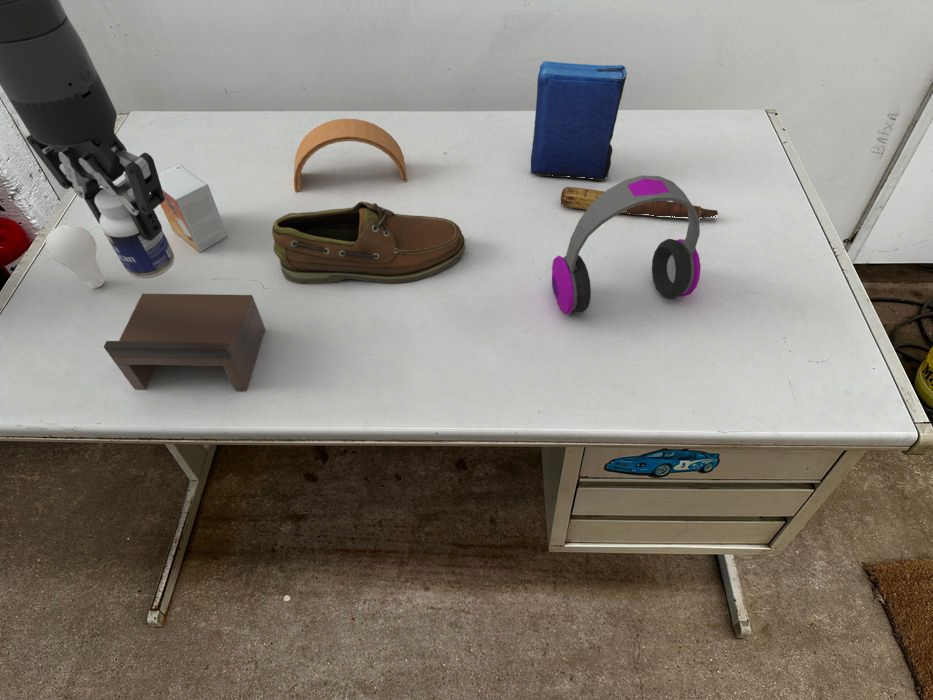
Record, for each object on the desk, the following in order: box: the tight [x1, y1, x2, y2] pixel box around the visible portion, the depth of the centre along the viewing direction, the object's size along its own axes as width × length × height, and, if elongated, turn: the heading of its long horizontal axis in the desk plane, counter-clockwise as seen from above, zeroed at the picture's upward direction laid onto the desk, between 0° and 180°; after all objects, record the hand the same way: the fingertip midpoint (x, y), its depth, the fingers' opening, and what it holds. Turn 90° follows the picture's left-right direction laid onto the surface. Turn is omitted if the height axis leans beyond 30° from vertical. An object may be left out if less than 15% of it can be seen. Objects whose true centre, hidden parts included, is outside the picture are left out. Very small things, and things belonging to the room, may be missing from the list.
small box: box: [157, 163, 228, 253], centre depth 96 cm, size 8×6×10 cm
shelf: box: [103, 293, 266, 392], centre depth 81 cm, size 11×15×9 cm
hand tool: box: [560, 186, 719, 219], centre depth 103 cm, size 4×26×3 cm, turn 79°
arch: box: [293, 118, 408, 193], centre depth 106 cm, size 6×20×10 cm, turn 98°
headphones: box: [551, 175, 702, 315], centre depth 84 cm, size 21×9×20 cm, turn 101°
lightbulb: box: [45, 223, 105, 289], centre depth 89 cm, size 6×6×11 cm
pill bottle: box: [94, 188, 175, 280], centre depth 67 cm, size 5×5×10 cm
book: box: [530, 61, 628, 180], centre depth 103 cm, size 14×5×20 cm, turn 82°
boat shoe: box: [271, 201, 466, 284], centre depth 92 cm, size 10×29×10 cm, turn 102°
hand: (131, 227), depth 66 cm, fingers closed on pill bottle, 5 cm apart
